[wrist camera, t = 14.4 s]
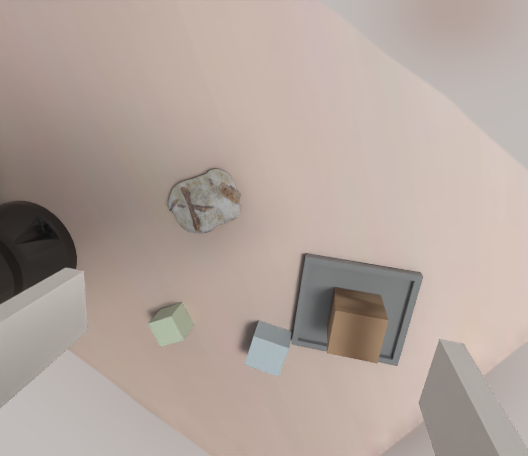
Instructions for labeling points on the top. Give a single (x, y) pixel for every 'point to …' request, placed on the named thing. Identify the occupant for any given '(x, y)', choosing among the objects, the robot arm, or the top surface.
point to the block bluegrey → (268, 348)
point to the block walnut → (356, 325)
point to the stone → (205, 201)
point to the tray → (359, 279)
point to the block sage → (171, 324)
